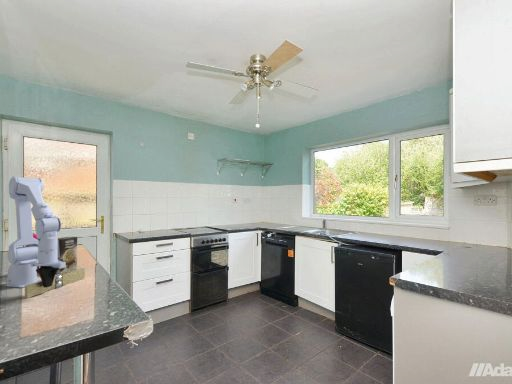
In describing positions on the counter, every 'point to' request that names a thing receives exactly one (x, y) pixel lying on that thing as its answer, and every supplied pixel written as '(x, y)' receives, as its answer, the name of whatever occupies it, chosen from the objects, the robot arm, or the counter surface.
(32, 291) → the swing leaf
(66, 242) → the coffee box
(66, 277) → the hinge base
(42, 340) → the counter surface
